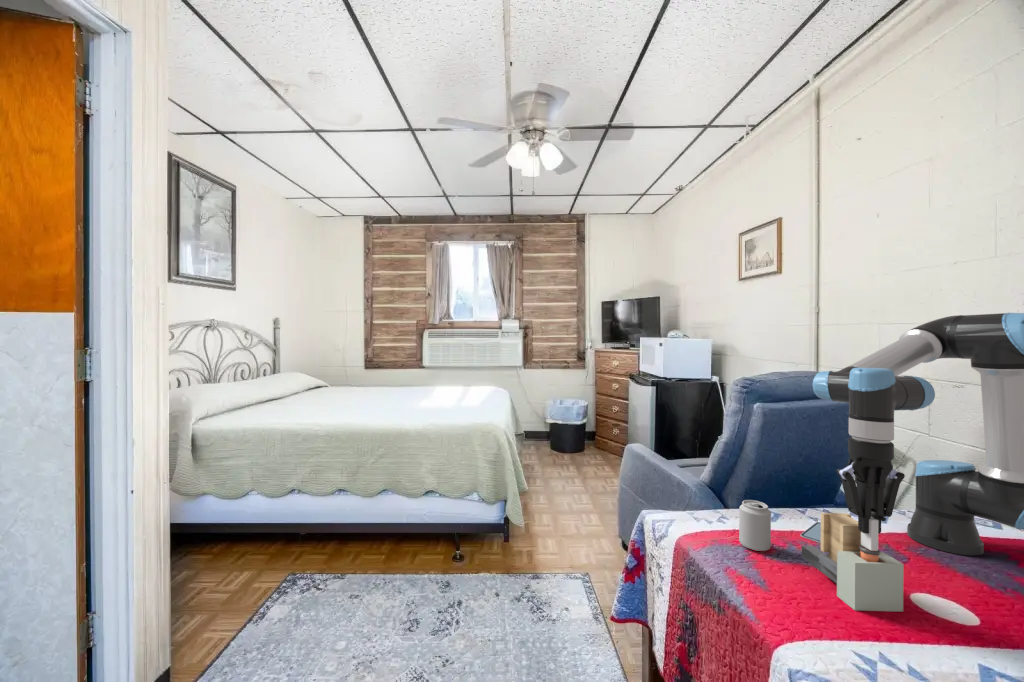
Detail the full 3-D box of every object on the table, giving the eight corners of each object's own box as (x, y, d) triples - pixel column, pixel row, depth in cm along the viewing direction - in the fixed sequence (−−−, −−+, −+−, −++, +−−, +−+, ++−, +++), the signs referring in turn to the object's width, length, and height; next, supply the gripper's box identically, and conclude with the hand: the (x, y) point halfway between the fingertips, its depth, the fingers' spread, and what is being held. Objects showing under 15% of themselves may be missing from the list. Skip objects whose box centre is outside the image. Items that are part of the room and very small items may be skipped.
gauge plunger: (870, 563, 92) (870, 544, 92) (884, 571, 88) (884, 552, 88) (855, 562, 92) (855, 544, 92) (867, 571, 89) (868, 552, 89)
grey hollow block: (882, 597, 93) (882, 552, 93) (903, 611, 88) (903, 564, 88) (836, 595, 93) (837, 551, 93) (854, 610, 88) (855, 563, 88)
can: (775, 555, 111) (775, 510, 111) (744, 551, 112) (744, 507, 112) (764, 541, 118) (764, 499, 118) (735, 539, 119) (735, 497, 119)
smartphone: (799, 535, 122) (817, 521, 131) (799, 537, 122) (817, 524, 131) (829, 544, 116) (846, 529, 125) (829, 547, 116) (846, 532, 125)
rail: (813, 557, 110) (813, 545, 110) (866, 596, 93) (866, 583, 93) (801, 556, 110) (801, 545, 110) (852, 596, 93) (852, 582, 93)
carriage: (848, 573, 100) (849, 513, 100) (873, 590, 93) (873, 526, 93) (819, 572, 100) (819, 512, 100) (841, 589, 93) (841, 525, 94)
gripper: (886, 435, 94) (884, 540, 94) (827, 434, 94) (826, 538, 94) (917, 443, 86) (916, 557, 86) (853, 442, 87) (852, 555, 87)
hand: (869, 547), depth 90 cm, fingers closed
